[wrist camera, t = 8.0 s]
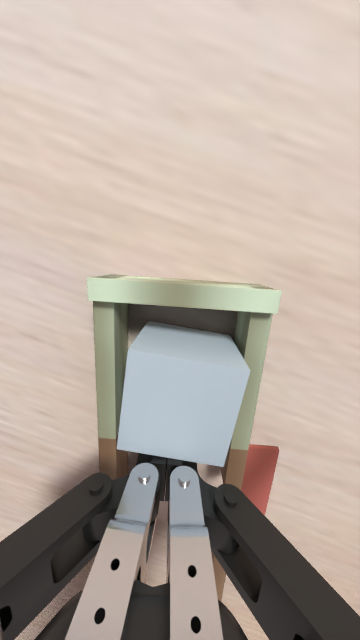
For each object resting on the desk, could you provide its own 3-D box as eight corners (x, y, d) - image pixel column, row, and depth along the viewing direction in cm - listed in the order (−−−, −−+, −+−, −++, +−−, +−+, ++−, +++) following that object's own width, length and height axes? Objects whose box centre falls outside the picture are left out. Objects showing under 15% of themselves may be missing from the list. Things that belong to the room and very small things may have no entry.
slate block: (229, 334, 13) (250, 370, 9) (212, 405, 14) (223, 467, 10) (148, 320, 13) (128, 349, 9) (138, 392, 14) (116, 449, 10)
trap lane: (312, 288, 12) (352, 295, 9) (238, 620, 20) (247, 681, 17) (59, 271, 12) (19, 273, 9) (85, 605, 20) (68, 662, 17)
